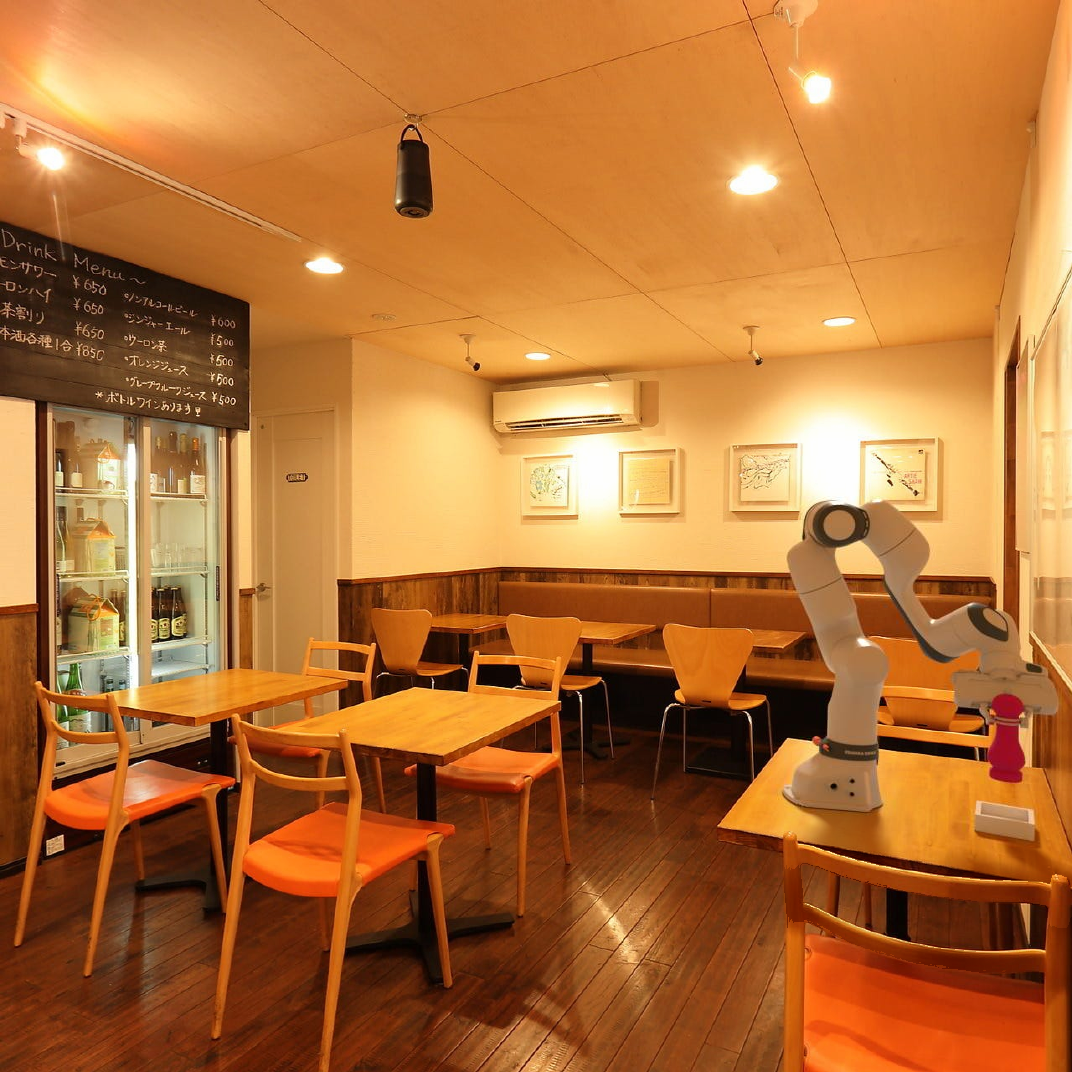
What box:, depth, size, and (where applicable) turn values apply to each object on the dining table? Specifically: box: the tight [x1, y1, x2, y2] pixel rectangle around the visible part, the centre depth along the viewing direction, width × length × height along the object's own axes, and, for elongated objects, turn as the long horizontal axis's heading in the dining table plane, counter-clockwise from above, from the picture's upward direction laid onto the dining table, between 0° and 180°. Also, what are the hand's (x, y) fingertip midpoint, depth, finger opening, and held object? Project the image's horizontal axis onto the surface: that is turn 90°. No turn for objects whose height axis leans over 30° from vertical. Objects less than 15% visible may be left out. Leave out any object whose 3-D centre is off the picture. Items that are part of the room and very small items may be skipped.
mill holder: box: [974, 800, 1036, 842], centre depth 177 cm, size 11×11×4 cm
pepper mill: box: [986, 687, 1026, 784], centre depth 177 cm, size 7×7×20 cm
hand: (1007, 725), depth 177 cm, fingers closed on pepper mill, 5 cm apart
